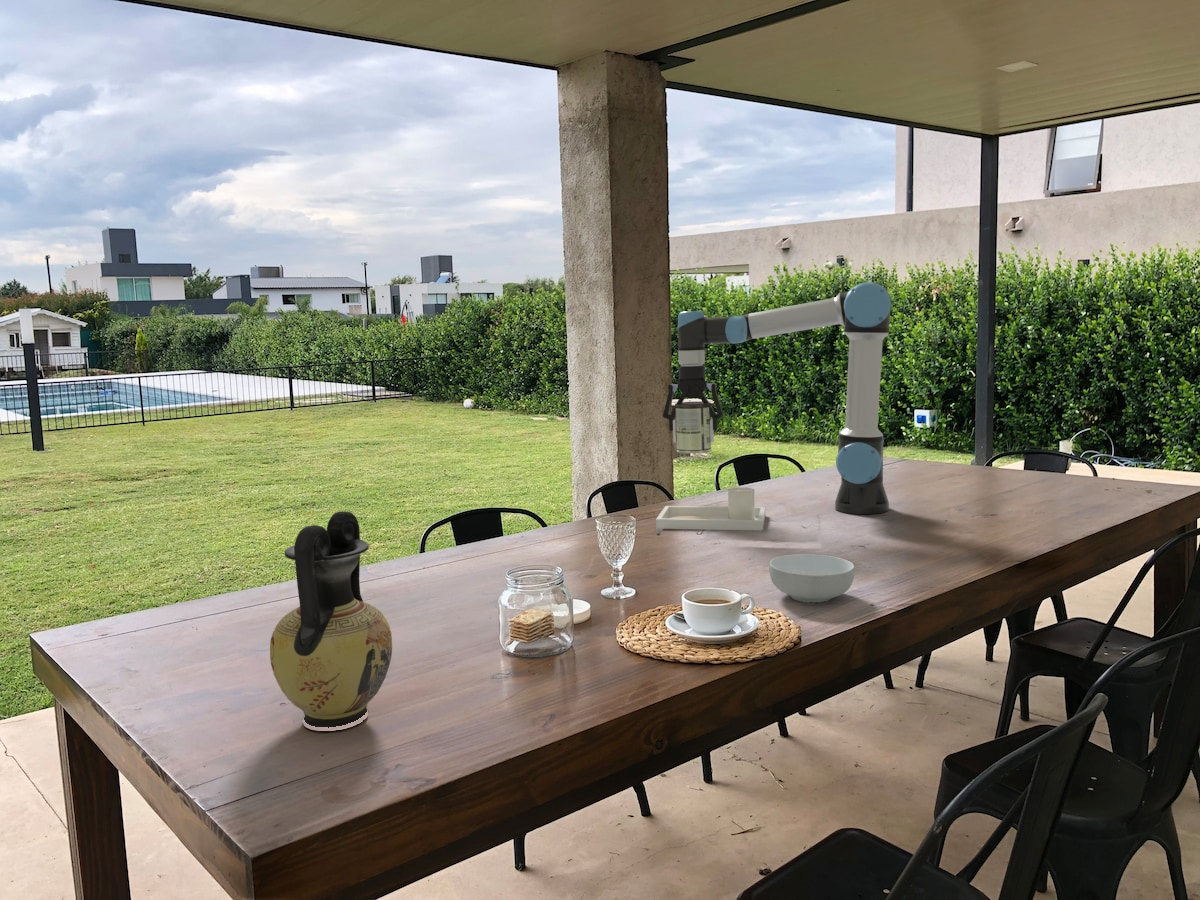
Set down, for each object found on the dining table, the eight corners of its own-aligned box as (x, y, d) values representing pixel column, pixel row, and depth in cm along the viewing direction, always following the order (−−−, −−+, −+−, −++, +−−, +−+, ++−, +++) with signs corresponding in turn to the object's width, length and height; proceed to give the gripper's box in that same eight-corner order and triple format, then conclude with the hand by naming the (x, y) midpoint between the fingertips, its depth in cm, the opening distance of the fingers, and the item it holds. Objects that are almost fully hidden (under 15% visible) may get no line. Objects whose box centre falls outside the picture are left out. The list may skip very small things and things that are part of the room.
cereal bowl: (838, 614, 176) (839, 578, 175) (756, 603, 184) (756, 568, 183) (864, 591, 190) (865, 557, 189) (787, 581, 199) (787, 549, 198)
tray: (765, 521, 258) (765, 507, 258) (762, 535, 241) (762, 520, 240) (665, 519, 264) (665, 505, 264) (656, 533, 247) (655, 519, 246)
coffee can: (676, 449, 276) (675, 401, 274) (711, 448, 275) (710, 401, 273) (675, 454, 265) (674, 405, 264) (711, 453, 264) (710, 404, 263)
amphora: (377, 746, 126) (363, 530, 122) (255, 747, 127) (237, 533, 123) (409, 694, 143) (397, 504, 139) (302, 696, 144) (287, 507, 140)
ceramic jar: (755, 519, 253) (754, 487, 252) (753, 525, 247) (753, 492, 245) (729, 519, 255) (729, 487, 254) (727, 525, 248) (727, 492, 247)
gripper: (732, 363, 268) (733, 439, 271) (655, 365, 273) (657, 440, 276) (730, 364, 261) (731, 443, 264) (650, 366, 265) (653, 443, 268)
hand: (693, 441), depth 270 cm, fingers closed on coffee can, 10 cm apart
